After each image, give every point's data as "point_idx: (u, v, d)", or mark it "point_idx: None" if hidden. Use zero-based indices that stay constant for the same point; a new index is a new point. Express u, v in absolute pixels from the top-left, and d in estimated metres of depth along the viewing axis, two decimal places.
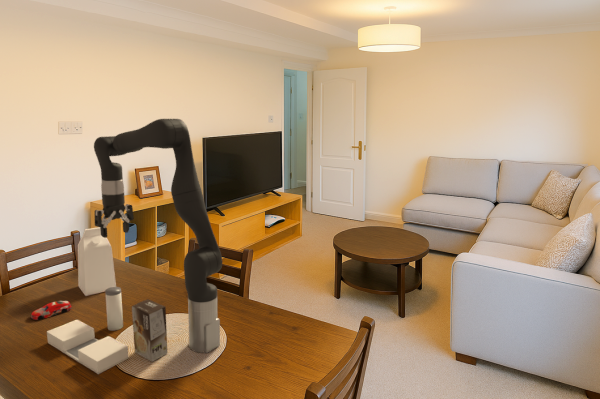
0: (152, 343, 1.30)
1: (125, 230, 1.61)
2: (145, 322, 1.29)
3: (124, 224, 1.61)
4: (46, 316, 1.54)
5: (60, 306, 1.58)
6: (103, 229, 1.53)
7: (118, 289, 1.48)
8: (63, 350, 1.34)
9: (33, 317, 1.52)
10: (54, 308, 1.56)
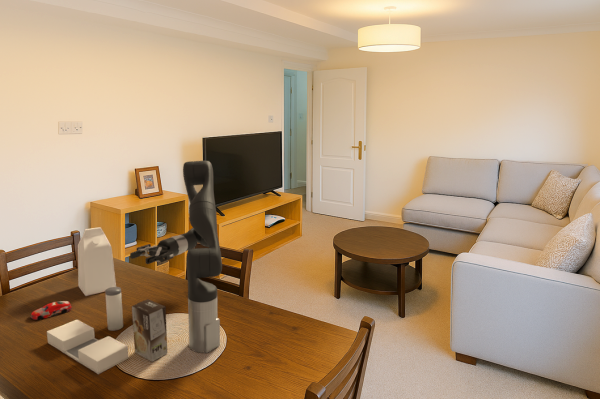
0: (152, 343, 1.30)
1: None
2: (145, 322, 1.29)
3: None
4: (46, 316, 1.54)
5: (60, 306, 1.58)
6: None
7: (118, 289, 1.48)
8: (63, 350, 1.34)
9: (33, 317, 1.53)
10: (53, 308, 1.56)
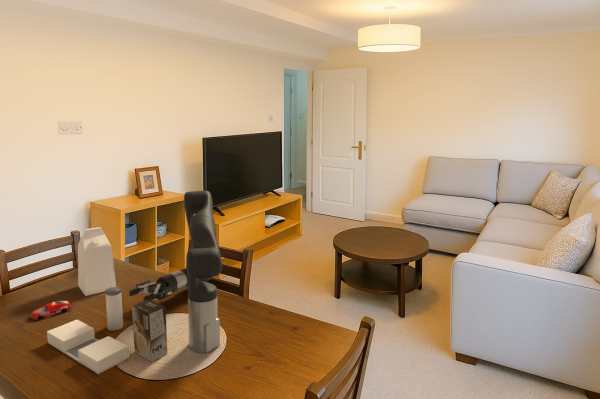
0: (152, 343, 1.30)
1: None
2: (145, 322, 1.29)
3: None
4: (46, 316, 1.54)
5: (60, 306, 1.58)
6: None
7: (118, 289, 1.48)
8: (63, 350, 1.34)
9: (33, 317, 1.52)
10: (53, 308, 1.56)
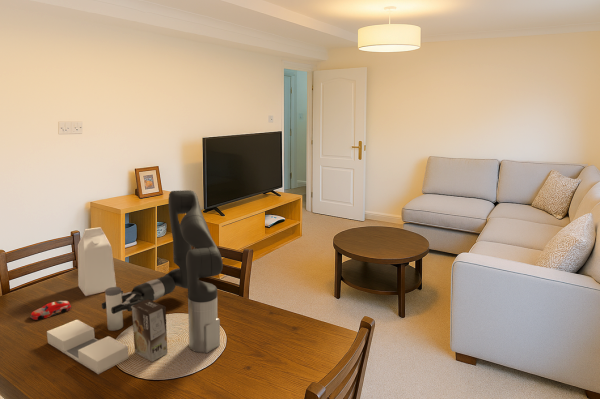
0: (152, 343, 1.30)
1: None
2: (145, 322, 1.29)
3: None
4: (46, 316, 1.54)
5: (60, 306, 1.58)
6: None
7: (118, 289, 1.48)
8: (63, 350, 1.34)
9: (33, 317, 1.52)
10: (53, 308, 1.56)
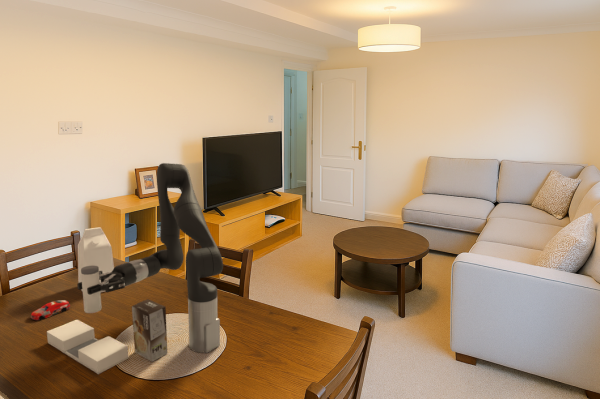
0: (152, 343, 1.30)
1: None
2: (145, 322, 1.29)
3: None
4: (47, 316, 1.55)
5: (60, 305, 1.58)
6: None
7: (95, 268, 1.34)
8: (63, 350, 1.34)
9: (34, 317, 1.52)
10: (54, 307, 1.57)
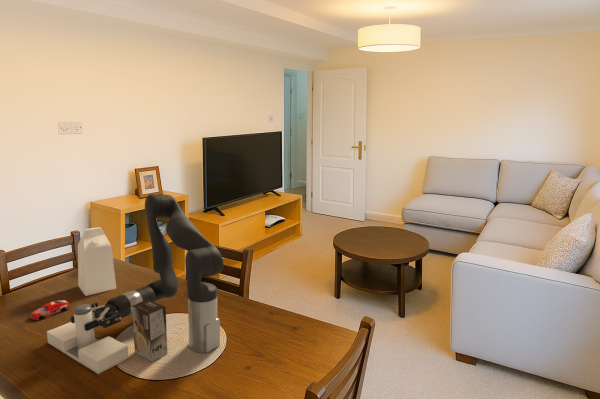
0: (152, 343, 1.30)
1: None
2: (145, 322, 1.29)
3: None
4: (46, 316, 1.55)
5: (59, 305, 1.58)
6: None
7: (88, 307, 1.32)
8: (63, 350, 1.34)
9: (34, 317, 1.52)
10: (53, 307, 1.57)
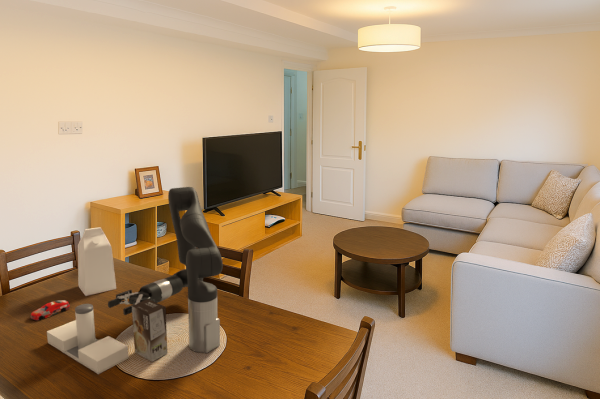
0: (152, 343, 1.30)
1: None
2: (145, 322, 1.29)
3: None
4: (46, 316, 1.55)
5: (59, 305, 1.58)
6: (115, 299, 1.47)
7: (89, 306, 1.33)
8: (63, 350, 1.34)
9: (33, 318, 1.52)
10: (53, 307, 1.57)
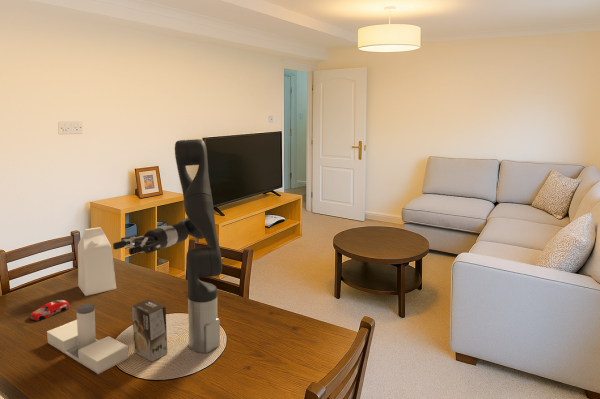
0: (152, 343, 1.30)
1: None
2: (145, 322, 1.29)
3: None
4: (47, 316, 1.55)
5: (59, 305, 1.58)
6: None
7: (91, 307, 1.33)
8: (63, 350, 1.34)
9: (34, 318, 1.52)
10: (53, 307, 1.57)
